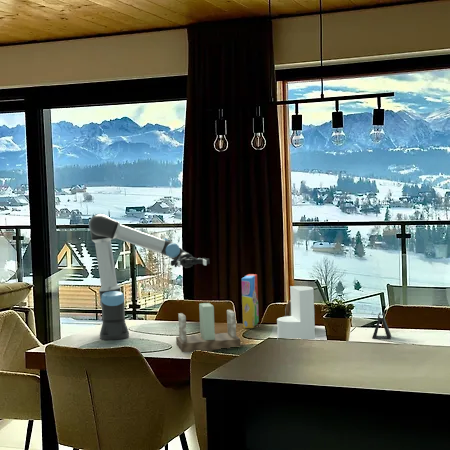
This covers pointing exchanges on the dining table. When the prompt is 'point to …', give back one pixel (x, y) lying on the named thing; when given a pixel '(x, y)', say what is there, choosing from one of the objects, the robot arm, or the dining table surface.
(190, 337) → the marble base with posts
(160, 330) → the dining table surface
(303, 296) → the white l-shaped block
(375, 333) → the phone stand
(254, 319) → the game box
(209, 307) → the book
